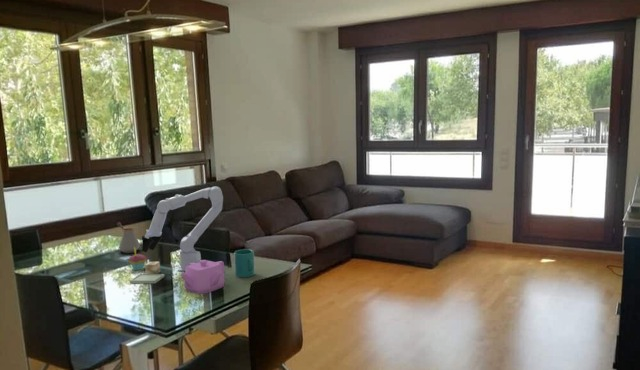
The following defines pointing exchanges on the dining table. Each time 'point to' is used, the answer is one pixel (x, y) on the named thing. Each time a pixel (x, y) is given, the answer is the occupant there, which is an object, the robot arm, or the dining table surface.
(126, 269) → the dining table surface
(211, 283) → the pink lidded box
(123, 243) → the coffee pot
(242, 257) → the cup
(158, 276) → the grey green picture frame
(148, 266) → the maple cube
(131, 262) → the cupcake
